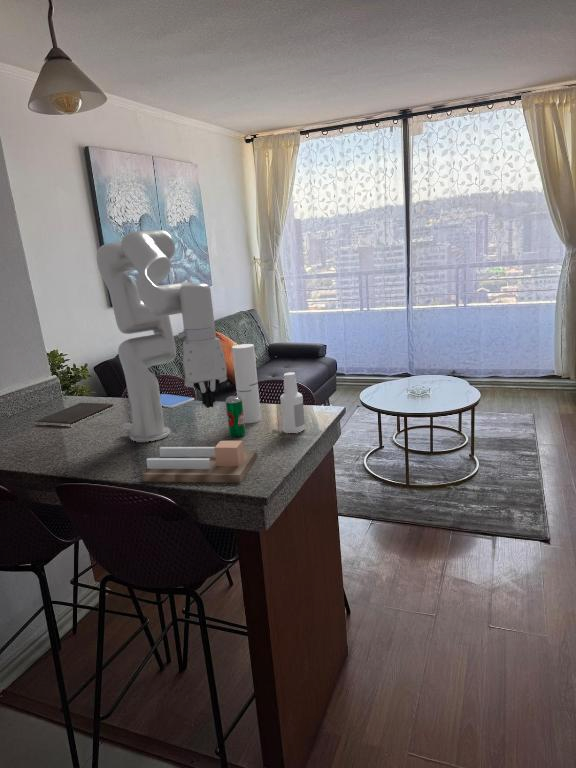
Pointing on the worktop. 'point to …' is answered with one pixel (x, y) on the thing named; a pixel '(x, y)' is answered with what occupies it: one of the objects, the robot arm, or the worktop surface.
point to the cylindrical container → (247, 381)
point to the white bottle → (292, 406)
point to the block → (229, 453)
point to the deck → (203, 472)
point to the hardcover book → (75, 413)
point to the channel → (182, 462)
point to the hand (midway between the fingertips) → (209, 406)
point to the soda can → (235, 416)
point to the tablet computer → (173, 400)
